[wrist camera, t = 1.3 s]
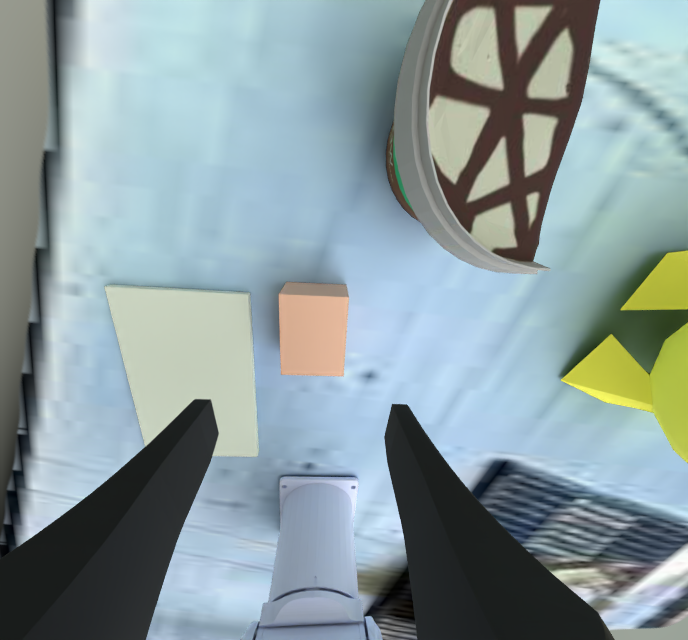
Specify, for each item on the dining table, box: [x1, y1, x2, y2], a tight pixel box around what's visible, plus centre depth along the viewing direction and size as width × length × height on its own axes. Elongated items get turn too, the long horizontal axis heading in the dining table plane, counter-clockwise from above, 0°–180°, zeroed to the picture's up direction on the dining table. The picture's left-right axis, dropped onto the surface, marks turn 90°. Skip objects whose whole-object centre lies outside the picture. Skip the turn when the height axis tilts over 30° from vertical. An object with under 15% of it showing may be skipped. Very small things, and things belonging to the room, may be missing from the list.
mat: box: [105, 285, 259, 457], centre depth 23 cm, size 16×10×1 cm, turn 176°
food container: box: [386, 0, 600, 274], centre depth 13 cm, size 12×6×10 cm, turn 0°
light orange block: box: [279, 282, 349, 376], centre depth 20 cm, size 6×4×4 cm
